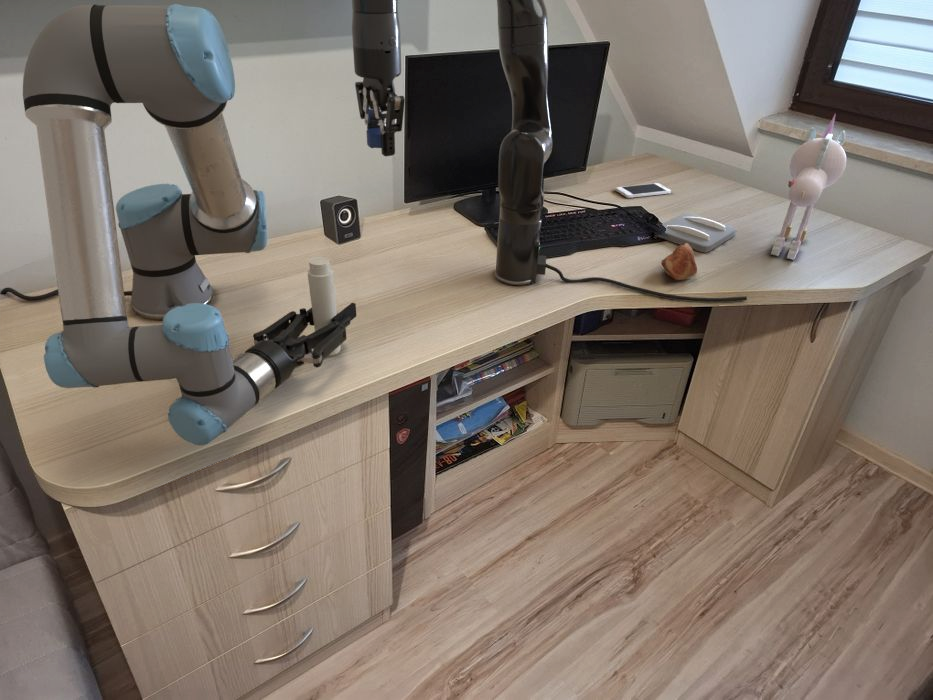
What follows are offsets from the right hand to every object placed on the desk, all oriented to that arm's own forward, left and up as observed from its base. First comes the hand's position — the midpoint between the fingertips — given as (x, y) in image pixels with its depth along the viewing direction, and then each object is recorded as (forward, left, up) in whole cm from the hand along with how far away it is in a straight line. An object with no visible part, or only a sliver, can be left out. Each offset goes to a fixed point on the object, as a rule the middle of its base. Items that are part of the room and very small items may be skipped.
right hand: (381, 150), depth 110 cm
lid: (0, 0, +3) cm, 3 cm away
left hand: (+7, +9, -27) cm, 29 cm away
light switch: (-70, -53, -33) cm, 94 cm away
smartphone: (-61, -85, -33) cm, 109 cm away
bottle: (+8, +14, -33) cm, 37 cm away
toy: (-96, -56, -33) cm, 116 cm away
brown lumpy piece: (-62, -29, -33) cm, 76 cm away
